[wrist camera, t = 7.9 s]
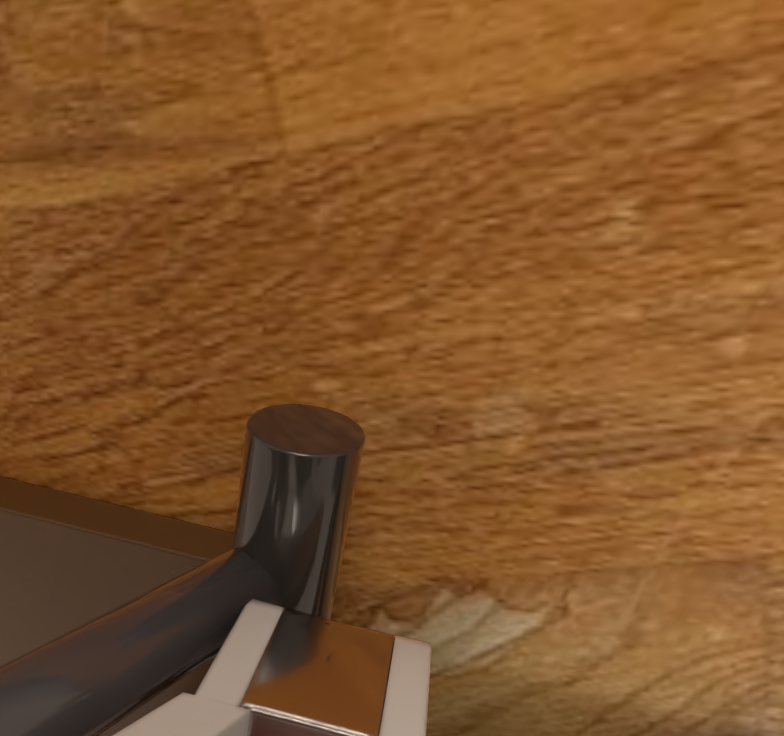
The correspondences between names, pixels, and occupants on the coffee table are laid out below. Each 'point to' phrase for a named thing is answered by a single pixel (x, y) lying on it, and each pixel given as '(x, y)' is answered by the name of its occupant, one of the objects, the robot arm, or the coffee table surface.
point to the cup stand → (87, 567)
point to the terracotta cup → (204, 584)
